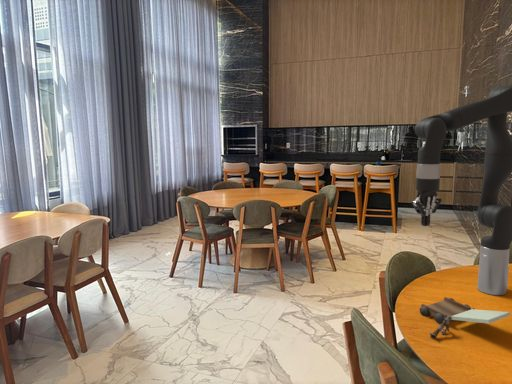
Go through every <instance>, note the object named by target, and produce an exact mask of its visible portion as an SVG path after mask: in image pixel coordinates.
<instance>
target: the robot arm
mask: <svg viewBox="0 0 512 384" xmlns="http://www.w3.org/2000/svg"><path fill="white" fill-rule="evenodd" d="M511 112H512V84H508V85H507V84H506V85H501V86H497V87H494V88H493V89H492V90H491V91H490V92H489V93H488V96H487V98H486V99H482V100H478V101H474V102H471V103H467V104H463V105H461V106H457V107H455V108H453V109H450V110H447V111H445V112H442V113H439V114H435V115H431V116H428V117H425V118H422V119H420V120H419V121H418V122H417V123H416V124H415V127H414V133H415V135H416V136H417V137H418V138H419V139H423V140H425V142H424V145H423V146H421V147H419V149H418V150H417V151H418V152H417V166H416V174H415V175H416V176H415V190H416V191H417V194H416V198H415V200H411V205H412V206H413V208H414V210H415V211H416V213H417V214H418V215H421V217H420V218H421V219H420V223H421V226H424V227H429V226H430V224H431V216H432V214H435V213H436V211H437V209H438V208H439V207H440V204H441V202H442V201H443V200H442V198H440V197H438V192H439V191H440V184H441V181H440V180H441V152H442V149H443V146H444V142H445V140H446V136H447V132H453V131H456V130H459V129H462V128H464V127H467V126H469V125H471V124H474V123H477V122H479V121H483V120H485V119H487V120H486V121H487V124H486V125H487V130H486V144H485V145H486V146H485V153H484V154H485V155H484V164H483V165H484V167H483V169H484V170H483V176H482V177H483V179H482V188H481V193H480V198H479V201H478V207H477V221H478V223H480V225H482V226H484V227H487V228H491V229H493V230H492V234H491V235H485V236H482V237H481V238H480V248H479V262H478V263H479V264H478V275H477V276H478V277H477V278H478V279H477V291H480V292H482V293H484V294H487V295H492V296H503V295H506V293H507V291H508V283H509V274H510V272H509V270H510V267H509V261H510V251H511V250H510V249H511V244H512V206H510V205H508V204H502V203H498V200H499V193H500V190H501V188H502V186H503V184H504V183H505V182H506V181H507V180H508V178H509V177H510V175H511V174H512V136H511V135H510V131H509V130H508V125H507V123H508V122H507V121H508V120H507V119H508V113H511Z"/></svg>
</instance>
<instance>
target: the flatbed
mask: <svg viewBox="0 0 512 384" xmlns="http://www.w3.org/2000/svg"><path fill="white" fill-rule="evenodd" d="M471 309H475V308H474V307H473V308H471V306H470V305H468V304H463V303H461V302H458V301H456V300H455V299H454V298H452V297H449V298H448V297H446V296H444V298H443V300H442V301H441V300H440V301H437V302H435V303H430V304H428V305H426V304H424V303H422V304H421V305H420V307H419V313H420V314H421V316H423V317H426V316H431V317H433V318H434V319H433V320H434V321H435V322H436V323H437V324H439V325H440V324H442V323H443V321H444V319H447V318H448V319H449V322H448V325H449V324H450V321H452V318H451V316H453V315H456V314H459V313H462V312H465V311H468V310H471Z"/></svg>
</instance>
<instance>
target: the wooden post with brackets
mask: <svg viewBox="0 0 512 384" xmlns="http://www.w3.org/2000/svg"><path fill="white" fill-rule="evenodd" d="M448 322H449V319H448V318H447V319H444V321H443V323H440V324H439V325H438V327H437V328H436V330H435V331H433V332H429V335H430V338H433V339H435V340H436V341H437V340H438V338H437V337H438V335H439V334H441V335H445V334H447V333H448V332H449V331H450V326H449V324H448Z"/></svg>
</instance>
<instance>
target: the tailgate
mask: <svg viewBox="0 0 512 384" xmlns="http://www.w3.org/2000/svg"><path fill="white" fill-rule="evenodd" d="M508 317H511V312H510V311H500V310H489V309H487V310H486V309H476V308H474V309H472V308H471V310H468V311H465V312H462V313H459V314H456V315H453V316H451V318H452V320H453V321H461V322H462V321H463V322H470V323H481V324H487V325H488V324H492V323H495V322H498V321H500V320H502V319H505V318H508ZM452 320H451V321H452Z"/></svg>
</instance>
